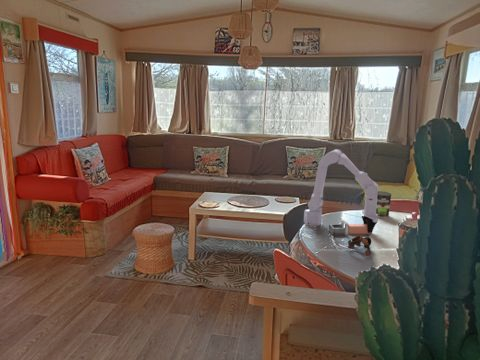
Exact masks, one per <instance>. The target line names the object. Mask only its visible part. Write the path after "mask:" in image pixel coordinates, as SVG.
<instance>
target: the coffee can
mask: <svg viewBox="0 0 480 360" xmlns="http://www.w3.org/2000/svg"><path fill="white" fill-rule="evenodd" d="M377 195H378V196H377V208H376V214H378V216H377V219H379V218H380V219H388V218H389V216H390V209H391V208H390V207H391V202H392V201H391V199H392V193H390V192H388V191H379V190H378V192H377Z"/></svg>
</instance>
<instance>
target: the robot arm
mask: <svg viewBox="0 0 480 360" xmlns="http://www.w3.org/2000/svg"><path fill="white" fill-rule="evenodd" d="M336 163H337V164H338V165H341V166H344V167H345V168H346V169H348V171H349V172H351V173H352V175H354V180H355V181H356V182H357V183H358V184H359V185H360V186H361V187H362V188H363V189H365V193H366V194H365V202H364V209H363V210H362V215H361V219H362V222H363V223H362V224H367V231H368V233H372V234H373V231H374V229H375V226H376V225H377V223H378V221H379V218H378V217H377V216H378V214H376V208H377V196H378V195H377V192H378V191H379V190H380V187H379V185H378V183H377V182H375V181H374V180H373V179H371V178H370V177H369V175H368V173H367V172H365V171H360V170H359V169H358V168H357V166H356V165H355V164H354V163H353V161H351V159H349V158H348V156H347V155H346V153H344V152H342V150H341V149H337V148H335V149H333V150H331V151H329V152H326V153H325V155H324V156H323V157H321V158H320V160H319V162H318V166H317V170H316V171H317V172H316V176H315V181H314V187H313V191H312V194H311V197H310V200H308V203H307V207H308V209H304V211H303V212H304V213H303V223H304V224H305V225H306V226H321V225H322V219H323V217H322V216H323V215H322V214H323V208H322V206H323V205H324V199H323V198H324V189H325V188H324V187H325V182H326V179H327V178H326V177H327V172H328V167H329V166H331V165H332V164H333V165H334V164H336Z"/></svg>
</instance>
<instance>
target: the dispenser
mask: <svg viewBox="0 0 480 360" xmlns="http://www.w3.org/2000/svg"><path fill="white" fill-rule="evenodd" d="M348 224H349V223H348V222H347V221H346V220H345V219H344V218H341V220H340V223H328V228H327V231H328V232H329V233H330V234H331V235H332V236H333V237H357V236H362V237H370V234H349V233H348Z"/></svg>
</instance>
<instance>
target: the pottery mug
mask: <svg viewBox="0 0 480 360" xmlns="http://www.w3.org/2000/svg"><path fill="white" fill-rule="evenodd" d="M347 244H348V246H347V247H348V248H351V249H355V246H356V247H359V248H361V247H362V245H361V244H363V247H364V248H365V249H366V250H365V251H364V253H365V256H369V255H370V254H371V253H372V252H371V248H370V246H371V245H372V239H371V237H370V236H354V237H353V238H351V239H349V240H348V241H347Z"/></svg>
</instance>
